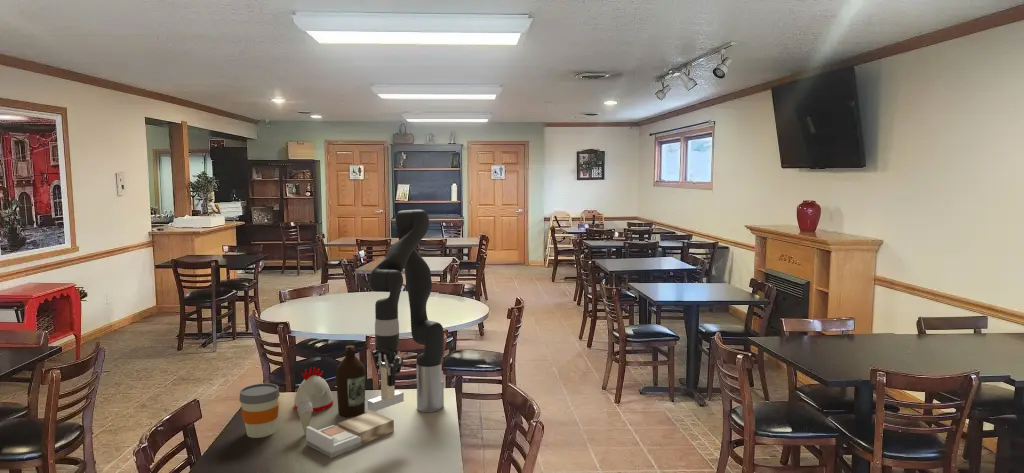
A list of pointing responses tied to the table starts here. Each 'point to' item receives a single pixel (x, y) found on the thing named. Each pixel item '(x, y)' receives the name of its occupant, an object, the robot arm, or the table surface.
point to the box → (330, 442)
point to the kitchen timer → (314, 391)
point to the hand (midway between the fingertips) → (387, 384)
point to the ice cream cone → (305, 411)
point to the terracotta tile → (332, 431)
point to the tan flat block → (368, 426)
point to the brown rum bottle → (350, 385)
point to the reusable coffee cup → (260, 409)
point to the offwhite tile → (341, 437)
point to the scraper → (385, 394)
